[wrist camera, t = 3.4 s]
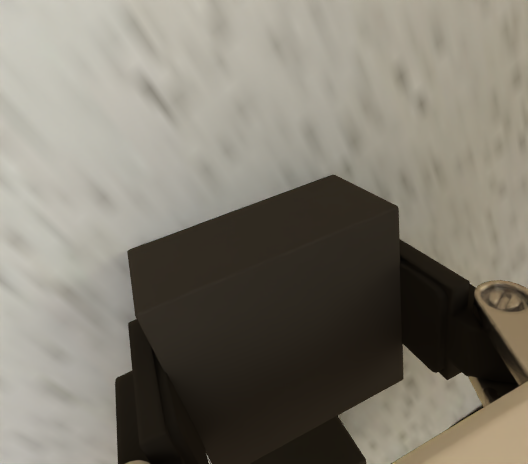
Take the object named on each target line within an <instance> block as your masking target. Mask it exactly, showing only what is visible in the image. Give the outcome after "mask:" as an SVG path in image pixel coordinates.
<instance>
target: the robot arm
mask: <svg viewBox="0 0 528 464" xmlns="http://www.w3.org/2000/svg"><path fill="white" fill-rule="evenodd" d="M399 244H400V293H401V326H402V343H403V344H404V345H405V346H406V347H407V348H408V349H409V350H410V351H411V352H412V353H413V354H414V355H415V356H416V357H417V358H418V359H419V360H421V361H422V362H423V363H424V364H425V365H426V366H427V367H428V368H429V369H430V370H431V371H433V372H435V373H437V372H439V373H440V374H441V375H442V376H443V377H444V378H445V379H447V380H449V379H450V378H452V377H454V376H456V375H457V374H459V373H461V372H462V373H463V374H465V375H466V376H468V377H469V380H470V382H471V383H472V385H473V387H474V389H475V391H476V393H477V395H478V397H479V399H480V401H481V403H482V405H483V407H484V408H482V409H481V410H479V411H477V412H476V413H474V414H472V415H471V416H469V417H467V418H466V419H464V420H462V421H461V422H459V423H457V424H456V425H454V426H452V427H451V428H449V429H447V430H446V431H444V432H442V433H441V434H439V435H437V436H436V437H434V438H432V439H431V440H429V441H428V442H426V443H424V444H423V445H421V446H419V447H418V448H416V449H414V450H413V451H411V452H409V453H408V454H406V455H404V456H403V457H401V458H400V459H398V460H396V461H395V462H393V463H391V464H528V288H526V287H524V286H522V285H520V284H517V283H513V282H510V281H502V280H494V281H488V282H484V283H482V284H480V285H479V286H478V287H477V288H476V287H474V286H472V285H471V284H469V283H470V282H469V281H468V280H466V279H464V278H463V277H461V276H459V275H458V274H456V273H455V272H453V271H451V270H450V269H448V268H446V267H445V266H443V265H441V264H440V263H438V262H436V261H435V260H433V259H431V258H430V257H428V256H426V255H425V254H423V253H422V252H420V251H418V250H417V249H415V248H413V247H412V246H410V245H408V244H407V243H405V242H403V241H402V240H400V239H399ZM128 327H129V338H130V349H131V360H132V371H131V372H129V373H126V374H124V375H122V376H120V377H117V378H116V382H115V390H116V419H117V447H118V464H209V463H208V459H207V455H206V451H205V448H204V445H203V443H202V441H201V439H200V437H199V435H198V433H197V431H196V429H195V427H194V425H193V423H192V421H191V419H190V417H189V416H188V414H187V412H186V410H185V408H184V406H183V404H182V402H181V400H180V398H179V396H178V394H177V392H176V390H175V388H174V386H173V384H172V382H171V381H170V379H169V377H168V375H167V373H165V372H164V370H163V368H162V366H161V364H160V362H159V360H158V358H157V357H156V355H155V353H154V351H153V349H152V347H151V345H150V343H149V341H148V339H147V337H146V335H145V333H144V331H143V329H142V328H141V326H140V324H139V322H138V320H134V321H132V322H129V323H128Z"/></svg>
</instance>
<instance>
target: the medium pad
mask: <svg viewBox="0 0 528 464" xmlns="http://www.w3.org/2000/svg"><path fill="white" fill-rule="evenodd" d="M128 259H129V268H130V276H131V284H132V292H133V300H134V308H135V316H136V318H137V320H138V322H139V324H140V326H141V328H142V329H143V331H144V333H145V335H146V337H147V339H148V341H149V343H150V345H151V347H152V349H153V351H154V353H155V355H156V357H157V358H158V360H159V362H160V364H161V366H162V368H163V370H164V372H165V373H167V375H168V377H169V379H170V381H171V382H172V384H173V386H174V388H175V390H176V392H177V394H178V396H179V398H180V400H181V402H182V404H183V406H184V408H185V410H186V412H187V414H188V416H189V417H190V419H191V421H192V423H193V425H194V427H195V429H196V431H197V433H198V435H199V437H200V439H201V441H202V443H203V445H204V448H205V451H206V453H207V455H208V457H209V459H210V461H211V463H212V464H250V463H251V462H253V461H255V460H257V459H259V458H261V457H262V456H264V455H266V454H268V453H270V452H272V451H273V450H275V449H277V448H279V447H281V446H283V445H284V444H286V443H288V442H290V441H292V440H293V439H295V438H297V437H299V436H301V435H303V434H304V433H306V432H308V431H310V430H312V429H314V428H315V427H317V426H319V425H321V424H323V423H325V422H326V421H328V420H330V419H332V418H334V417H335V416H337V415H339V414H341V413H343V412H345V411H346V410H348V409H350V408H352V407H354V406H356V405H357V404H359V403H361V402H363V401H365V400H367V399H368V398H370V397H372V396H374V395H376V394H377V393H379V392H381V391H383V390H385V389H387V388H388V387H390V386H392V385H394V384H396V383H398V382H399V381H401V380H403V346H402V326H401V293H400V244H399V210H398V207H397V206H396V205H394V204H392V203H390V202H388V201H386V200H384V199H382V198H380V197H378V196H376V195H374V194H372V193H370V192H368V191H366V190H364V189H362V188H360V187H358V186H356V185H354V184H352V183H350V182H348V181H346V180H344V179H342V178H340V177H338V176H336V175H331V176H328V177H326V178H323V179H320V180H317V181H315V182H312V183H309V184H307V185H304V186H301V187H299V188H296V189H293V190H290V191H288V192H285V193H282V194H280V195H277V196H274V197H271V198H269V199H266V200H263V201H261V202H258V203H255V204H253V205H250V206H247V207H244V208H242V209H239V210H236V211H234V212H231V213H228V214H225V215H223V216H220V217H217V218H215V219H212V220H209V221H206V222H204V223H201V224H198V225H196V226H193V227H190V228H188V229H185V230H182V231H179V232H177V233H174V234H171V235H169V236H166V237H163V238H160V239H158V240H155V241H152V242H150V243H147V244H144V245H141V246H139V247H136V248H133V249H131V250H129V251H128Z"/></svg>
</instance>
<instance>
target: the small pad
mask: <svg viewBox="0 0 528 464" xmlns="http://www.w3.org/2000/svg"><path fill="white" fill-rule="evenodd" d="M250 464H366V459H365V457H364V456H363V454H362V453H361V451H360V450H359V448H358V447H357V445H356V444H355V442H354V441H353V439H352V437H351V436H350V434H349V433H348V431H347V430H346V428H345V427H344V425H343V424H342V422H341V421H340V419H339V418H338V416H335V417H334V418H332V419H330V420H328V421H326V422H325V423H323V424H321V425H319V426H317V427H315V428H314V429H312V430H310V431H308V432H306V433H304V434H303V435H301V436H299V437H297V438H295V439H293V440H292V441H290V442H288V443H286V444H284V445H283V446H281V447H279V448H277V449H275V450H273V451H272V452H270V453H268V454H266V455H264V456H262V457H261V458H259V459H257V460H255V461H253V462H251V463H250Z"/></svg>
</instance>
